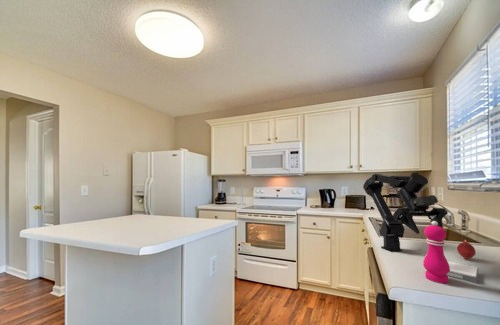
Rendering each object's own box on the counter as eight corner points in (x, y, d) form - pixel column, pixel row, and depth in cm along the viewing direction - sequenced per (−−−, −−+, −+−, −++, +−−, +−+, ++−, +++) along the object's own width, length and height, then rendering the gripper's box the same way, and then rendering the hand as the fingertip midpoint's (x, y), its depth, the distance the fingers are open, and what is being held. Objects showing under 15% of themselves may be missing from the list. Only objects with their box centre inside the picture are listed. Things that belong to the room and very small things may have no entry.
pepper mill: (444, 285, 75) (441, 224, 76) (419, 277, 82) (417, 220, 83) (454, 281, 79) (452, 221, 80) (430, 273, 85) (428, 218, 86)
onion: (479, 262, 96) (478, 242, 96) (463, 261, 97) (462, 241, 98) (469, 257, 102) (468, 238, 102) (454, 256, 103) (453, 238, 103)
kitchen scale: (435, 273, 85) (434, 267, 85) (439, 265, 93) (439, 259, 93) (476, 283, 77) (476, 276, 77) (478, 273, 85) (478, 267, 85)
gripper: (397, 187, 93) (417, 222, 82) (444, 188, 93) (469, 223, 82) (385, 203, 101) (402, 237, 90) (428, 203, 101) (450, 237, 90)
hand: (430, 233), depth 88 cm, fingers open, 9 cm apart
